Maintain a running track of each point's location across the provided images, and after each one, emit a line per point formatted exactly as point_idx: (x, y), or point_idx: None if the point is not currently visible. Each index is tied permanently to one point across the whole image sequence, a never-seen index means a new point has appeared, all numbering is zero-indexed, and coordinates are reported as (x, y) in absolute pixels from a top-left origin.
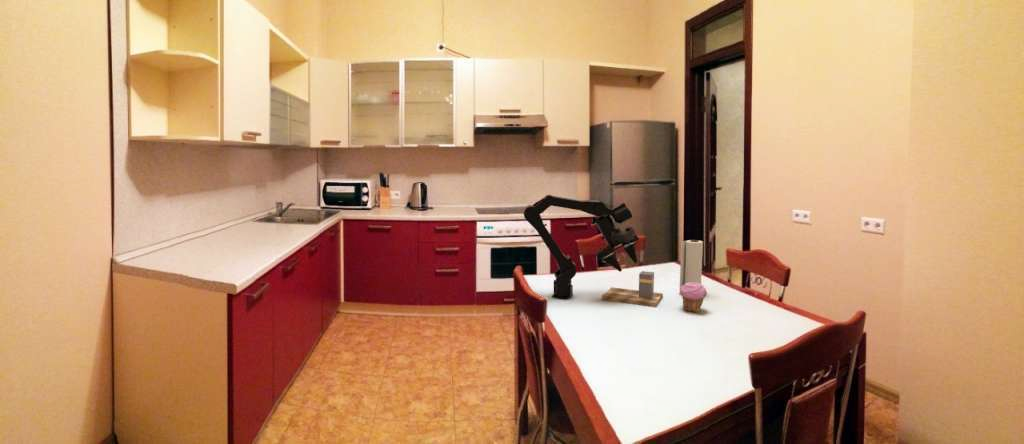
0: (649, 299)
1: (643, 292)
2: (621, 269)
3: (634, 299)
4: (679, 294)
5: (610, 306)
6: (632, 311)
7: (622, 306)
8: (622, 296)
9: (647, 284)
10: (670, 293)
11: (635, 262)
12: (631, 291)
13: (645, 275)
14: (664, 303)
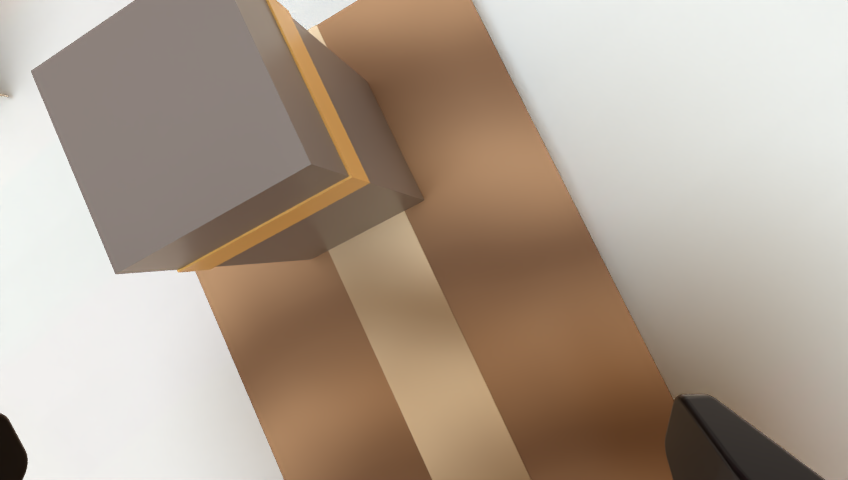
0: (395, 76)
1: (383, 144)
2: (701, 409)
3: (526, 173)
4: (6, 95)
5: (841, 271)
6: (771, 3)
7: (720, 187)
8: (546, 336)
9: (322, 72)
10: (25, 180)
11: (13, 453)
12: (315, 392)
13: (270, 58)
14: (295, 7)
